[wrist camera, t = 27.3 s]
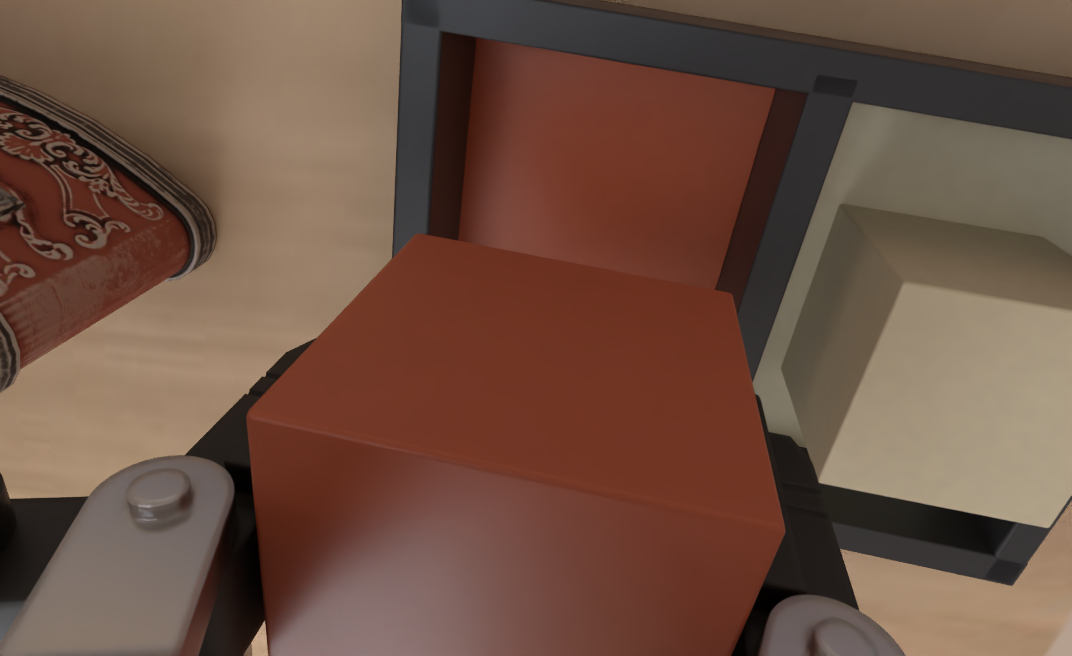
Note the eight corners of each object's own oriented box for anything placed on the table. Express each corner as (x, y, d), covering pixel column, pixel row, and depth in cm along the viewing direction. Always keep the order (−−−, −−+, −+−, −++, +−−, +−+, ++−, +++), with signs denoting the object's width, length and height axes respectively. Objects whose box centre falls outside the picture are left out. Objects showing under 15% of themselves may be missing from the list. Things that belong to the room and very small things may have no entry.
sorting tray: (425, 376, 20) (383, 450, 17) (454, -24, 15) (402, -25, 12) (953, 486, 19) (1013, 587, 16) (1181, 95, 14) (1337, 130, 11)
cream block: (779, 368, 17) (816, 484, 13) (839, 202, 15) (904, 281, 11) (958, 401, 17) (1050, 530, 13) (1044, 236, 15) (1186, 331, 11)
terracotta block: (403, 472, 12) (272, 726, 8) (416, 231, 9) (241, 411, 6) (659, 529, 11) (659, 825, 7) (734, 291, 9) (790, 532, 5)
